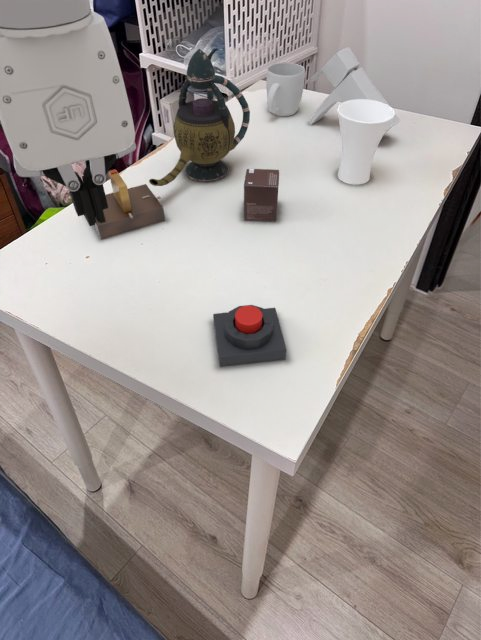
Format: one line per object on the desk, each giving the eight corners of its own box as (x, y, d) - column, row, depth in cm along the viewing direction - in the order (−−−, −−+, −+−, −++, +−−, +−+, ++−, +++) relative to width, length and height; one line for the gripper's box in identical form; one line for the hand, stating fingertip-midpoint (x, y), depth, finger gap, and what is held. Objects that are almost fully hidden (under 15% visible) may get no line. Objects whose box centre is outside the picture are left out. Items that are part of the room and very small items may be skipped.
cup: (389, 176, 96) (406, 110, 86) (359, 196, 91) (373, 128, 81) (347, 159, 101) (359, 94, 91) (317, 176, 96) (325, 110, 86)
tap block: (102, 242, 81) (98, 227, 79) (86, 212, 87) (82, 197, 85) (166, 223, 85) (164, 208, 83) (147, 196, 91) (144, 181, 89)
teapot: (254, 161, 100) (256, 40, 83) (181, 217, 86) (166, 85, 69) (208, 147, 105) (202, 29, 88) (132, 198, 91) (107, 69, 74)
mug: (275, 101, 122) (277, 59, 114) (306, 108, 119) (311, 66, 111) (252, 120, 114) (253, 76, 107) (285, 127, 111) (288, 83, 104)
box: (276, 223, 85) (278, 187, 79) (243, 221, 85) (243, 185, 80) (277, 204, 89) (279, 169, 83) (246, 202, 89) (246, 167, 84)
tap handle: (132, 210, 82) (126, 184, 78) (124, 212, 82) (118, 186, 78) (121, 194, 86) (115, 168, 82) (114, 196, 85) (108, 170, 82)
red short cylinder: (237, 335, 61) (237, 326, 60) (233, 315, 64) (233, 306, 62) (263, 332, 62) (264, 323, 60) (259, 313, 64) (259, 304, 63)
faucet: (388, 129, 100) (335, 48, 97) (338, 168, 113) (290, 98, 111) (401, 119, 103) (350, 41, 101) (351, 158, 117) (305, 90, 114)
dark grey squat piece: (219, 367, 62) (218, 348, 59) (213, 324, 68) (212, 304, 65) (285, 360, 63) (287, 340, 60) (274, 317, 68) (275, 298, 66)
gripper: (-79, 28, 28) (23, 261, 42) (151, -2, 33) (177, 216, 47) (-84, 0, 33) (10, 218, 46) (119, -22, 38) (151, 181, 51)
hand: (93, 216), depth 46 cm, fingers closed
